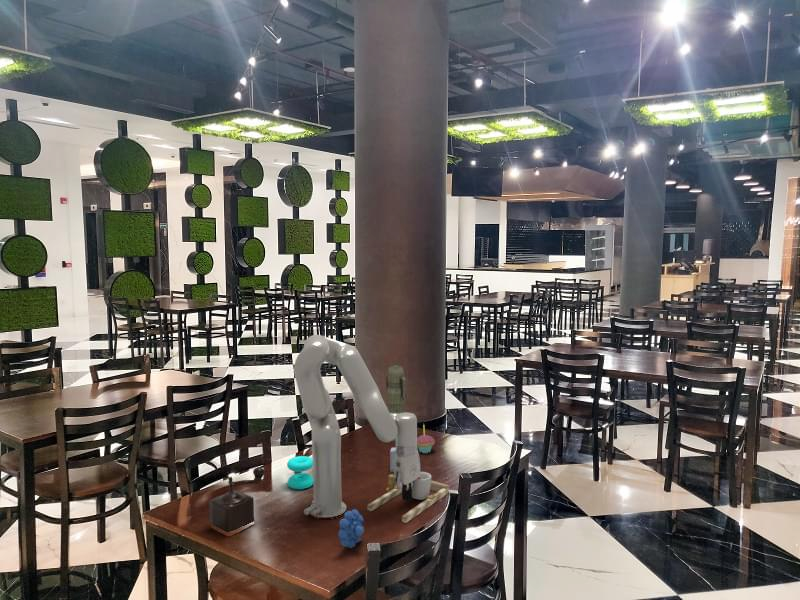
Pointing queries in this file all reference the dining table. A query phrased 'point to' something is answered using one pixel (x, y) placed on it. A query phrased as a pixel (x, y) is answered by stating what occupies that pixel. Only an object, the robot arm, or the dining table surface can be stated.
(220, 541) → the dining table surface
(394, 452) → the medicine box
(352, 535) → the grapes
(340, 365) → the robot arm
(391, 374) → the thermos
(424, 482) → the cup
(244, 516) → the manual coffee grinder
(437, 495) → the frame
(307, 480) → the turquoise double ring spool
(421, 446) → the cupcake
